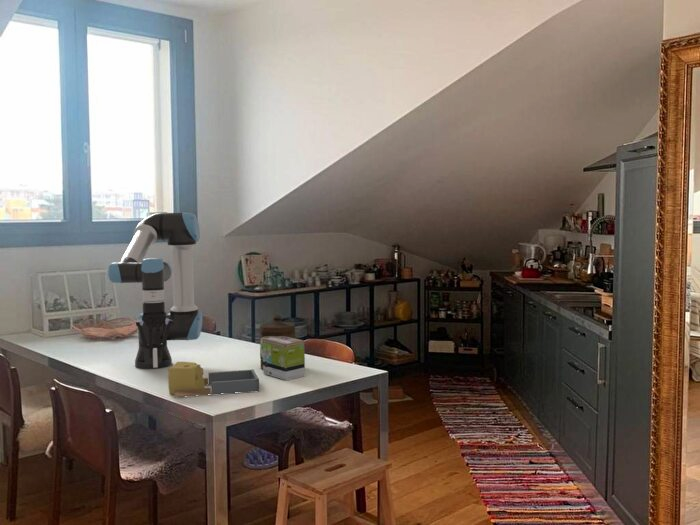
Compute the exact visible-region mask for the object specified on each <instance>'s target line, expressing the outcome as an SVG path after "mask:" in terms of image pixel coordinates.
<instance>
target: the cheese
mask: <svg viewBox="0 0 700 525" xmlns="http://www.w3.org/2000/svg"><path fill="white" fill-rule="evenodd" d="M167 378H168V381H167V382H168V392H169V393H168V394H169V395H171V394H175V390H186V389H199V388H205V386H206V385H205V382H204V379H203V378H204V369H203V367H201V364H197V363H196V362H190V361H176V362H175V363H174V364H173V365H172V366H170V367H169V368H168V376H167Z"/></svg>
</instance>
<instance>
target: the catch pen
mask: <svg viewBox="0 0 700 525" xmlns="http://www.w3.org/2000/svg"><path fill="white" fill-rule="evenodd" d="M207 375H208V385H209V384H211V385H210V386H211V387H210V388H211V395H212V394H220V395H222V394H221V393H233V394H236V393H235V392H245V393H249V392H248V391H258V392H260V378H259V377H258V375H257V373H256V372H255V370H254V369H242V370H240V369H239V370H227V371H215V372H211V371H210V372H208V374H207Z"/></svg>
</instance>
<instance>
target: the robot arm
mask: <svg viewBox="0 0 700 525" xmlns="http://www.w3.org/2000/svg"><path fill="white" fill-rule="evenodd" d="M200 234H201V230H200V223H199V221H198V217H197V216H196V214H194V213H192V212H184V211H183V212H157V213H156V212H155V213H153V214H151V215H149V216H147V217H145V218H144V219H142V220H141V221H139V223H138V224H137V225H136V227H135V228H134V230H133V237H132V239H131V241H130V243H129V244H128V246H127V248H126V250H125V252H124V254H122V257H121V259H120V260H119V262H118V261H117V262H111V263H110V264H109V266H108V268H107V275H108V280H109V281H110V282H111V283H115V284H129V283H130V284H133V283H134V284H135V283H137V284H139V283H141V286H142V287H141V289H142V301H143V302H142V313H140V314H138V316H137V321H135V325H136V327H137V329H138V330H137V333H138V334H137V335H138V337H137V338H138V348H137V349H138V350H137V353H136V355H135V356H136V357H135V360H134V366H135V367H136V368H138V369H160V368H166V367H169V366H171V365H172V364H173V361H172V356H171V353H170V351H169V348H168V341H186V342H187V341H194V340H198V339H199V338H200V335H201V333H202V327H203V320H204V319H203V313H202V312H200V311H199V308H198V307H199V306H197V305H196V304H195V291H194V290H195V285H194V283H195V282H194V260H193V258H194V256H193V250H194V248H195V246H196V245H197V242H198V241H199V240H200V238H201V237H200V236H201V235H200ZM157 241H163V242H164V241H165V242H167V246H168V247H169V249H171V265H172V266H171V265H170V264H169V262H166V261H164V260H163V258H159V257H149V258H145V257H146V256H147V254H148V252H149V250H150V247H151V246H152V245H154V244H156V242H157ZM171 277H172V295H173V306H172V307H171V308H170V309H169V312H167V310H166V308H165V302H164V300H165V282H167V281H168V280H170V278H171Z"/></svg>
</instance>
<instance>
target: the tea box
mask: <svg viewBox="0 0 700 525" xmlns="http://www.w3.org/2000/svg"><path fill="white" fill-rule="evenodd" d="M305 350H306V349H305V340H304V339H303V340H302V339H298V338H296V337H295V338H290V337H286V336H276V337H271V338H265V339H263V371H262V373H263V375H267V376H271V377H273V378H277V379H280V380H283V381H286V380H287V381H290V380H289V379H291V380H294V379H293V378H295V379H299V378H304V377H305V376H306V373H305V370H306V365H305V364H306V362H305V361H306V360H305V352H306V351H305ZM298 377H299V378H298Z"/></svg>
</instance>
